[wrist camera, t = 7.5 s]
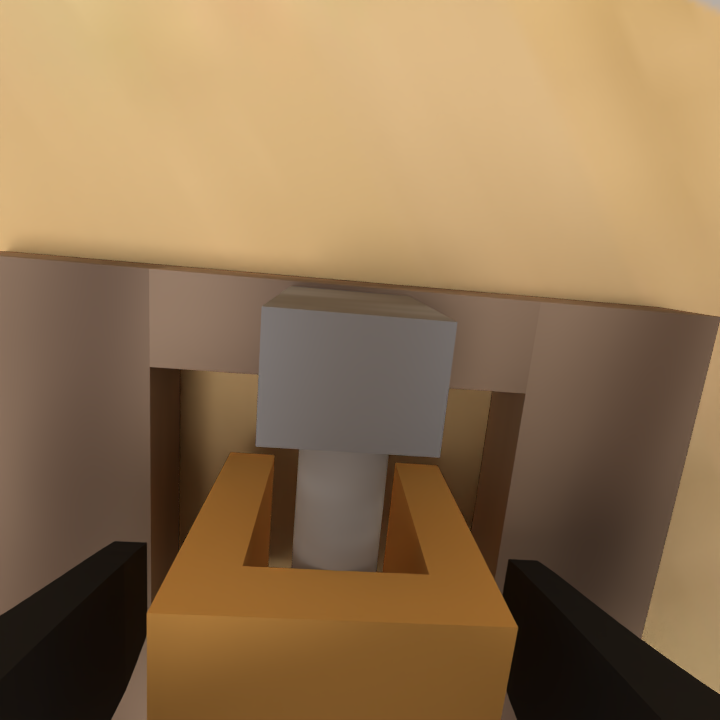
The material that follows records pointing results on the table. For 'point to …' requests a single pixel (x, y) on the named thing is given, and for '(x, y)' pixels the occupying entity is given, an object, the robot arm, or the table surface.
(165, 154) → the table surface
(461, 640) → the orange slotted block
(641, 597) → the slotted shelf
